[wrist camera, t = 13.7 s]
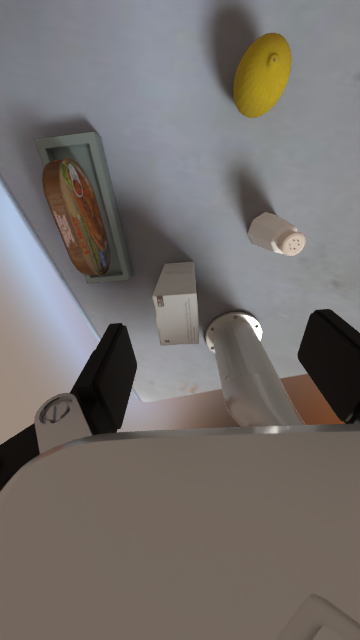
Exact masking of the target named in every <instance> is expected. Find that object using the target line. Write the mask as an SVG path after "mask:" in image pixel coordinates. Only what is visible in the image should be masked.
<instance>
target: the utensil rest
mask: <svg viewBox="0 0 360 640" xmlns="http://www.w3.org/2000/svg"><path fill="white" fill-rule="evenodd" d="M34 141H35V143H36V146H37V149H38V151H39V154H40V157H41V160H42V162H43V165H44V167H45V166H46V164H48V163H49V162H51V161H55V160H63V159H65V158H71V159H73V160H74V161H76V162H77V163H78V164H79V165H80V166H81V167H82V169H83V170H84V172H85V173H86V175H87V177H88V178H89V180H90V183H91V185H92V187H93V190H94V193H95V196H96V200H97V204H98V207H99V211H100V214H101V218H102V221H103V225H104V228H105V232H106V236H107V239H108V243H109V247H110V255H111V259H110V266H109V270H108V272H107V273H106V274H105V275H102V276H100V275H85V274H84V276H85V279H86V281H87V283H99V282H111V281H124V280H130V279H131V277H132V270H131V266H130V262H129V257H128V253H127V249H126V244H125V240H124V236H123V231H122V227H121V222H120V218H119V214H118V209H117V205H116V201H115V196H114V192H113V188H112V183H111V179H110V175H109V170H108V166H107V162H106V157H105V153H104V148H103V144H102V140H101V136H100V135H98V134H97V133H95V132H87V133H79V134H72V135H64V136H56V137H48V138H40V139H34Z"/></svg>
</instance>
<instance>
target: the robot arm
mask: <svg viewBox="0 0 360 640" xmlns="http://www.w3.org/2000/svg"><path fill="white" fill-rule="evenodd" d="M261 337H262V328H261V326H260V324H259V322H258V321H257V319H256V318H255V317H253V316H252V315H250V314H247V313H244V312H230V313H226V314H223V315H221V316H219V317H217V318H216V319H215V320H213V321H212V322H211V324H210V325H209V326H208V328H207V331H206V336H205V338H206V343H207V346H208V348H209V349H210V350H211V351H212V352H213V353H215V355H216V360H217V365H218V370H219V375H220V380H221V385H222V390H223V395H224V400H225V404H226V407H227V409H228V411H229V413H230V414H231V416H232V417H233V418H234V420H235V421H236V422H237V423H239V424H240V425H241V426H242V427H234V428H206V429H181V430H154V431H136V432H119V433H117V429H120V428H121V426H122V423H123V419H124V415H125V411H126V408H127V404H128V400H129V396H130V392H131V389H132V385H133V381H134V377H135V373H136V370H137V362H136V358H135V355H134V351H133V348H132V344H131V341H130V338H129V334H128V331H127V328H126V326H123V325H122V323H115V324H110V325H109V326H108V328H107V330H106V332H105V333H104V335H103V337H102V339H101V341H100V342H99V344H98V346H97V348H96V350H94V351H93V353H92V354H91V356H90V358H89V360H88V362H87V363H86V365H85V367H84V369H83V371H82V372H81V374H80V376H79V377H78V379H77V381H76V383H75V385H74V386H73V388H72V390H71V392H70V393H63V394H58V395H56V396H54V397H52V398H51V399H49V400H47V401H46V402H45V403H44V404H43V405H42V406H41V407H40V408H39V410H38V411H37V413H36V415H35V420H34V424H32V425H31V426H29V427H28V428H26V429H24V430H23V431H21V432H20V433H18V434H17V435H15V436H14V437H12V438H10V439H9V440H7V441H6V442H4V443H3V444H1V445H0V640H360V333H359V332H358V331H357V330H355V329H354V328H353V327H352V326H351V325H349V324H348V323H347V322H346V321H344V320H343V319H342V318H341V317H339V316H338V315H337V314H336V313H334V312H333V311H332V310H330V309H323V310H315V311H314V312H313V313H312V314H311V315H310V317H309V320H308V323H307V326H306V329H305V332H304V336H303V339H302V342H301V345H300V348H299V351H298V359H299V361H300V362H301V364H302V365H303V367H304V368H305V370H306V371H307V373H308V374H309V376H310V377H311V378H312V380H313V381H314V383H315V384H316V386H317V387H318V389H319V390H320V392H321V393H322V395H323V396H324V398H325V399H326V400H327V402H328V403H329V405H330V406H331V408H332V409H333V411H334V412H335V414H336V415H337V416H338V418H339V419H340V420H341V421H344V422H345V424H332V425H305V423H304V422H303V420H302V419H301V417H300V415H299V414H298V412H297V411H296V409H295V407H294V405H293V404H292V402H291V400H290V398H289V396H288V394H287V393H286V391H285V389H284V387H283V385H282V383H281V381H280V379H279V377H278V375H277V373H276V371H275V369H274V367H273V365H272V363H271V361H270V359H269V357H268V355H267V353H266V351H265V350H264V348H263V346H262V344H261V342H260V340H261Z"/></svg>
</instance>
